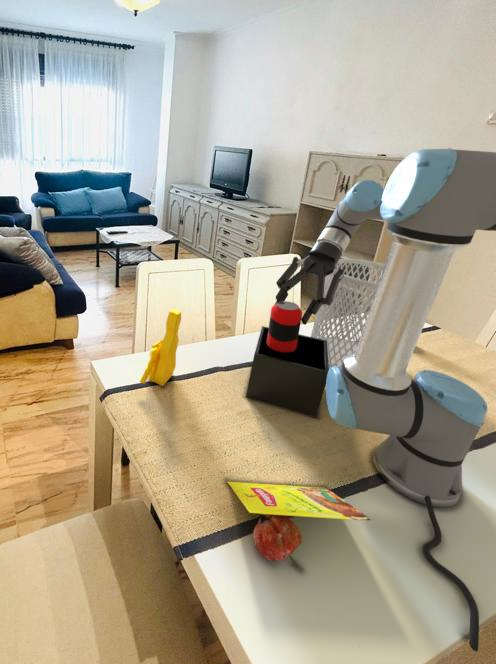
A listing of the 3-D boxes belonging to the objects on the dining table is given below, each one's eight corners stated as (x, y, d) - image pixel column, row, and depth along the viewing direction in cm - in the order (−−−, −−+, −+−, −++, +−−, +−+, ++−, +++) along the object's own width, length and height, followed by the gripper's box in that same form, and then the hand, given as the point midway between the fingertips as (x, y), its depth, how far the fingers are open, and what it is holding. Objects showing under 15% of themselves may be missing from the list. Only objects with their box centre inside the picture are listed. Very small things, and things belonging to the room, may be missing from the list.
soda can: (279, 337, 109) (284, 297, 104) (302, 348, 103) (309, 307, 98) (260, 343, 105) (265, 303, 101) (283, 356, 99) (290, 314, 95)
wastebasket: (408, 375, 118) (443, 284, 106) (341, 383, 112) (371, 288, 100) (349, 336, 140) (373, 257, 128) (290, 341, 134) (310, 259, 122)
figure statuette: (162, 360, 118) (168, 294, 109) (186, 369, 114) (194, 301, 106) (133, 390, 103) (137, 317, 95) (159, 401, 100) (166, 326, 92)
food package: (372, 517, 63) (249, 509, 63) (372, 524, 62) (249, 516, 62) (325, 485, 78) (226, 478, 78) (325, 491, 77) (226, 484, 78)
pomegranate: (294, 551, 67) (259, 497, 70) (325, 552, 62) (286, 493, 65) (270, 583, 63) (234, 524, 66) (301, 587, 58) (260, 522, 60)
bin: (316, 417, 97) (329, 373, 92) (245, 397, 103) (254, 354, 98) (315, 380, 112) (327, 340, 107) (254, 364, 119) (262, 326, 113)
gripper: (369, 265, 102) (328, 337, 98) (296, 247, 116) (258, 309, 111) (367, 249, 97) (325, 324, 92) (291, 232, 110) (251, 297, 106)
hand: (288, 316), depth 102 cm, fingers closed on soda can, 7 cm apart
